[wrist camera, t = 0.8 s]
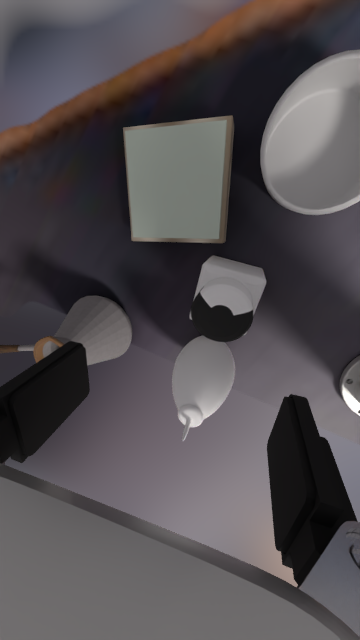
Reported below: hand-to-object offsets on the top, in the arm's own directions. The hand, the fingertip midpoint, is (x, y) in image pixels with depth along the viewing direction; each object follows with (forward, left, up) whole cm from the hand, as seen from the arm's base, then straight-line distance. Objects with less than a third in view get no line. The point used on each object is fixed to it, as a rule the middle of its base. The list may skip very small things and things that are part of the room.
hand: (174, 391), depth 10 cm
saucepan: (-13, -14, -25) cm, 31 cm away
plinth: (+6, -11, -24) cm, 27 cm away
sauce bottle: (+1, +11, -24) cm, 27 cm away
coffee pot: (+24, +9, -25) cm, 36 cm away
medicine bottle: (-1, +1, -25) cm, 24 cm away
